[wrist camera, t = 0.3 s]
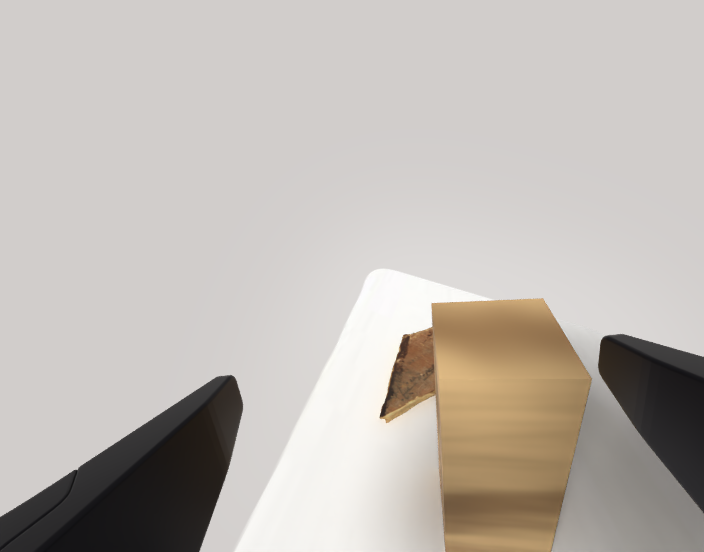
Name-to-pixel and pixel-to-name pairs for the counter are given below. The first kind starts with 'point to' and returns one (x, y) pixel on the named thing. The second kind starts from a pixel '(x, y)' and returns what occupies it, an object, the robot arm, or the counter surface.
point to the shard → (411, 375)
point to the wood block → (504, 422)
